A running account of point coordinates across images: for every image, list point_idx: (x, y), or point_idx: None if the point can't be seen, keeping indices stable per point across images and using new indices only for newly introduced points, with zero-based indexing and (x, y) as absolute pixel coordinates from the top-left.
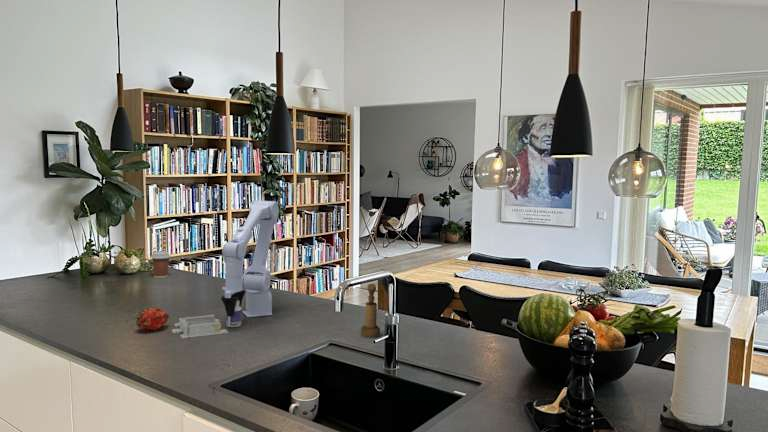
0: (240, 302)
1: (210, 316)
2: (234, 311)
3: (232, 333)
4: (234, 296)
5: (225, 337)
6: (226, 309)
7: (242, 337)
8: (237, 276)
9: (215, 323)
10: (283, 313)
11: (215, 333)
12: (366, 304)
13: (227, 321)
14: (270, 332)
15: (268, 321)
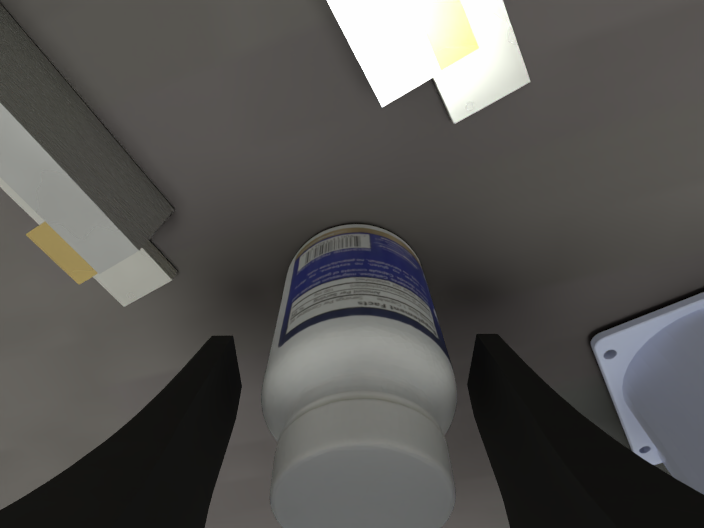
0: (501, 483)
1: (353, 50)
2: (226, 440)
3: (134, 329)
4: (554, 519)
5: (16, 309)
6: (165, 399)
7: (76, 405)
8: None
9: (60, 227)
10: None
11: (38, 216)
12: None
13: (294, 273)
14: (237, 505)
15: (476, 462)
